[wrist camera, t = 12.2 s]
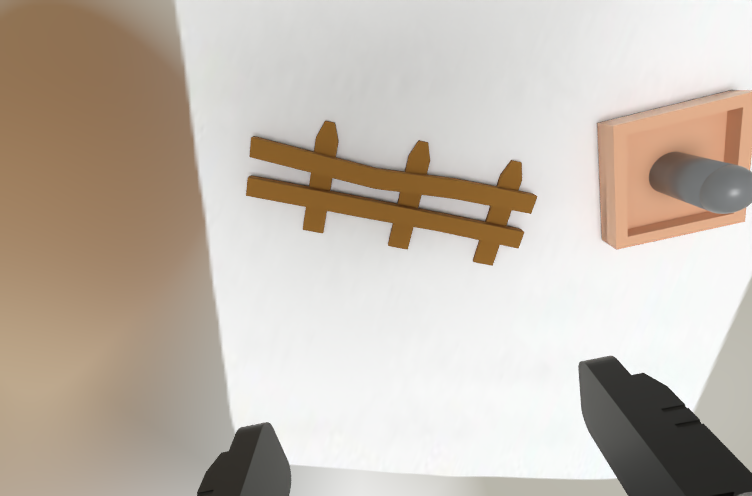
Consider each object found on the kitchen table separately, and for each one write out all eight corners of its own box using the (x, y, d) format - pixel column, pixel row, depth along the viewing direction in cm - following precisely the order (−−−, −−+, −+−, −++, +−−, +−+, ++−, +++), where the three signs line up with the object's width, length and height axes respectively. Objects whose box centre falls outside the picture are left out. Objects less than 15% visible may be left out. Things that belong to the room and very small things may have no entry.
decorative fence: (503, 263, 40) (538, 165, 37) (509, 272, 39) (547, 169, 35) (249, 215, 38) (260, 106, 35) (243, 222, 37) (253, 107, 33)
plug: (649, 157, 35) (720, 176, 28) (692, 147, 35) (776, 163, 27) (648, 197, 36) (716, 225, 29) (690, 187, 36) (769, 213, 29)
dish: (597, 123, 35) (613, 125, 32) (731, 90, 34) (757, 90, 32) (601, 239, 39) (616, 249, 36) (722, 213, 38) (744, 221, 36)
